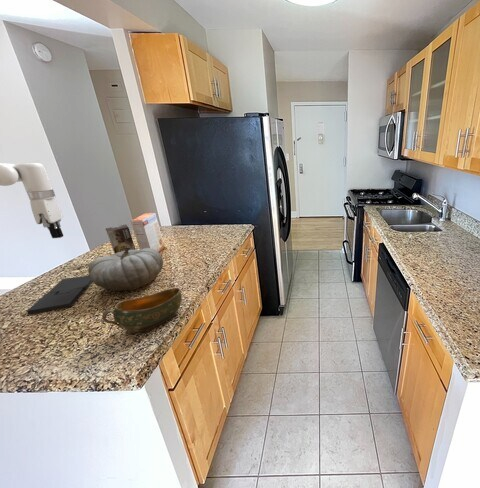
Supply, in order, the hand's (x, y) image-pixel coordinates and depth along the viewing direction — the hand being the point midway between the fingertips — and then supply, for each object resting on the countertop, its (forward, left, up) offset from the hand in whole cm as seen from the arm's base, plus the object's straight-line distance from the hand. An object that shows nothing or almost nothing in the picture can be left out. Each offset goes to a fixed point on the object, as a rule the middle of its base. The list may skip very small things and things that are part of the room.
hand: (58, 237), depth 112 cm
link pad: (+4, -12, -19) cm, 23 cm away
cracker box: (+29, +17, -19) cm, 38 cm away
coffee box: (+16, +18, -19) cm, 31 cm away
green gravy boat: (+40, -51, -19) cm, 67 cm away
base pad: (+4, -23, -19) cm, 30 cm away
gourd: (+27, -18, -19) cm, 38 cm away
